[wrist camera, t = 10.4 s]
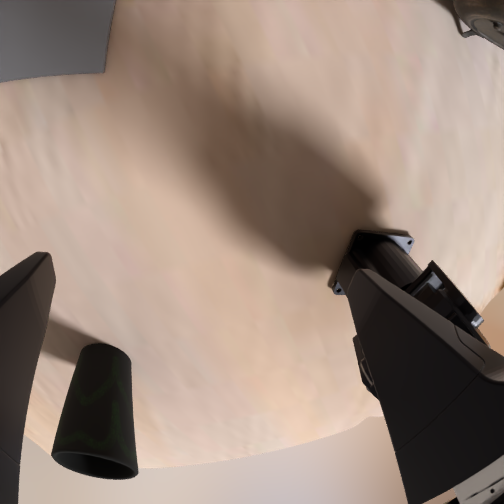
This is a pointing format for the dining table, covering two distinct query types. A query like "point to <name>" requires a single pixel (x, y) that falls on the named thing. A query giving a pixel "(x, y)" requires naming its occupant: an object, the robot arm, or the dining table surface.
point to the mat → (53, 37)
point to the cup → (98, 417)
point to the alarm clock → (483, 19)
